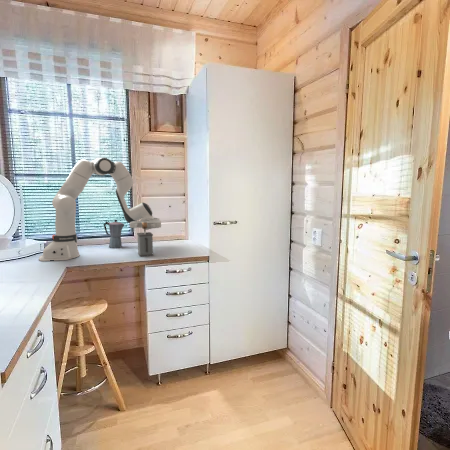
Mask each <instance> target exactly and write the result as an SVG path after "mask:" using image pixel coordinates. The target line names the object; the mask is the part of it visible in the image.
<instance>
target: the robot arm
mask: <svg viewBox="0 0 450 450" xmlns="http://www.w3.org/2000/svg"><path fill="white" fill-rule="evenodd" d="M92 175H96V176H97V175H98V176H105V175H110V176H111V177H112V179H113V180H114V182H115V184H116V189H115V195H116V197H117V200H118V201H117V202H118V204H119V205H120V208H121V210H122V214H123V217H124V220H125V221H126V223H129V228H131V229H134V228H135V229H136V228H137V229H139V228H140V229H141V228H142V222H147V228H146V231H148V230H152V229H160V228H162V220H161V219H160V218H157V217H154V216H153V211H152V208H151V207H150V205H149V204H148V203H145V202H141V203H139V204H136V205H135V206H132V207H130V208H129V207H128V205H127V201H126V199H125V196H126V194H127V193H128V192H129V191H130V190H131V188H132V187H133V185H134V180H133V177H132V175H131V173H130V172H129V170H128V169H127V167H126V166H125V164H124V163H122V161H112V160H111V159H109V158H107V157H104V156H103V157H97V158H95V159H93V160H91V161H90V160H88V159H80V160H78V161H77V162H76V164H75V165H74V166H73V168H72V169H71V170H70V173H69V175H68V176H67V177H66V179H65V181H64V182H63V183H62V186H61V187H60V188H59V189H58V191H57V192H56V193H55V196H54V197H53V199H52V203H51V204H52V207H53V208H54V209H55V221H54V228H55V234H52V235H51V237H52V238H51V239H52V241H51V242H50V243H49V244H48V245H46V246H45V247H44V249H43V251H42V255H40V256H39V257H38V260H39V261H40V262H50V260H54V261H68V260H71V259H75V258H79V257H80V255H81V254H80V252H79V249H78V235H77V233H76V230H77V229H76V216H77V215H76V214H77V213H76V211H77V203H76V201H77V200H76V199H77V198H78V197H79V196H80V194H81V193H82V192H83V191H84V190H85V187H86V186H87V183H88V182H89V181H90V178H91V177H92ZM142 229H143V228H142Z"/></svg>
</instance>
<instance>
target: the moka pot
mask: <svg viewBox="0 0 450 450" xmlns="http://www.w3.org/2000/svg"><path fill="white" fill-rule="evenodd" d="M107 225H108V227H109V228H108V229H109V232H108V230H107ZM124 226H125V223H123V222H118V220H117V219H114V221H111V222H109V221H105V222H104V224H103V227H104V228H103V229H104V230H105V233H106V235H107V236H110V238H109V244H108V247H109V248H112V249H119V248H122V246H123V244H122V230H123V228H124Z"/></svg>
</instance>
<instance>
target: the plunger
mask: <svg viewBox="0 0 450 450" xmlns="http://www.w3.org/2000/svg"><path fill="white" fill-rule="evenodd" d="M146 228H147V222H142V229H143V233H144V234H146V232H147V230H146Z"/></svg>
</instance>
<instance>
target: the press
mask: <svg viewBox="0 0 450 450" xmlns="http://www.w3.org/2000/svg"><path fill="white" fill-rule="evenodd" d="M136 235H137V255H138V256H139V257H140V258H141V257H142V258H143V257H153V256H154V250H153V249H154V246H153V245H154V243H153V236H154V234H153V233H152V232H149V231H146V234H144V232H137V234H136Z"/></svg>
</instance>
